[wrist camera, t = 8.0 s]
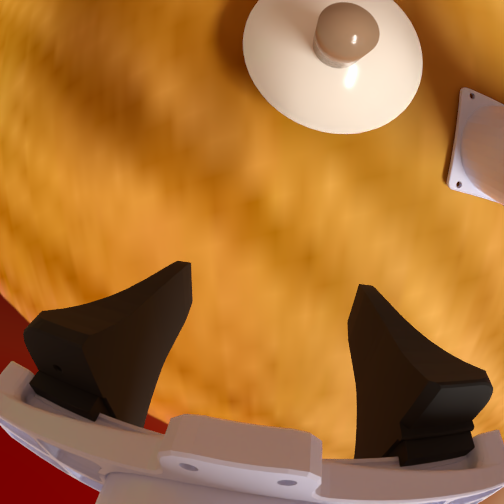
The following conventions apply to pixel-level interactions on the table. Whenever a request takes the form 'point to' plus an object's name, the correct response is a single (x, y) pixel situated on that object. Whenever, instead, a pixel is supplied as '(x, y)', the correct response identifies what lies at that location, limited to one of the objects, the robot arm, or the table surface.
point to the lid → (334, 61)
